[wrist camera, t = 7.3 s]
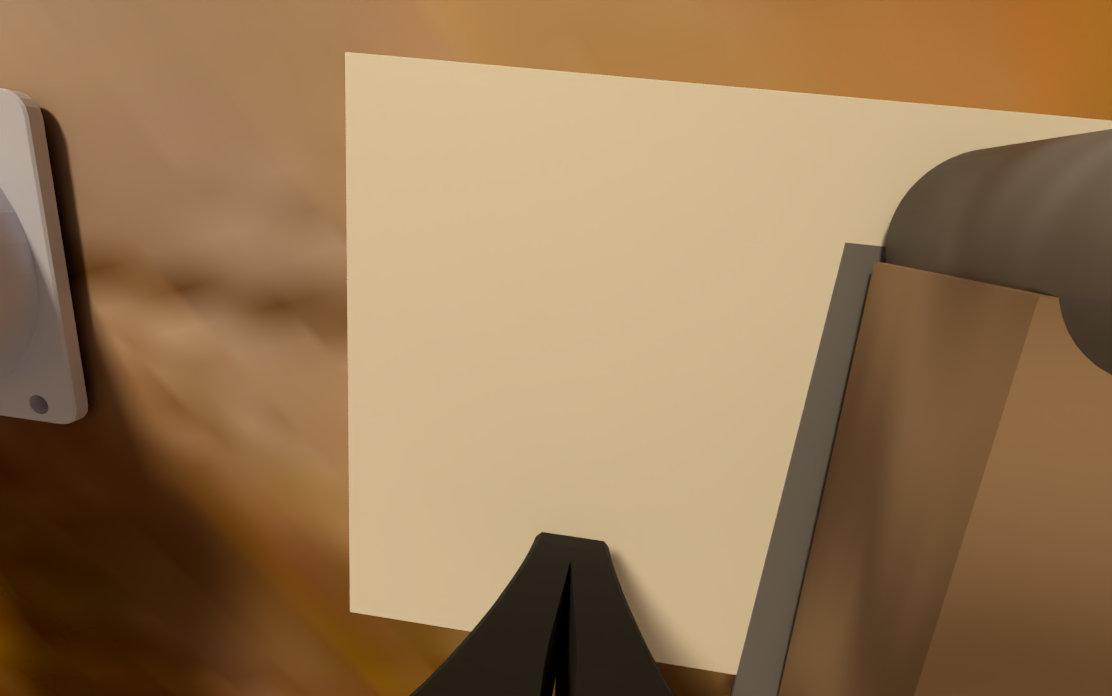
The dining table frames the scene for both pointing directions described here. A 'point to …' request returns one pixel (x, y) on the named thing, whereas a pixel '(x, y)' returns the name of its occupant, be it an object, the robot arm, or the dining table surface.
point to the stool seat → (613, 332)
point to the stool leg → (975, 444)
